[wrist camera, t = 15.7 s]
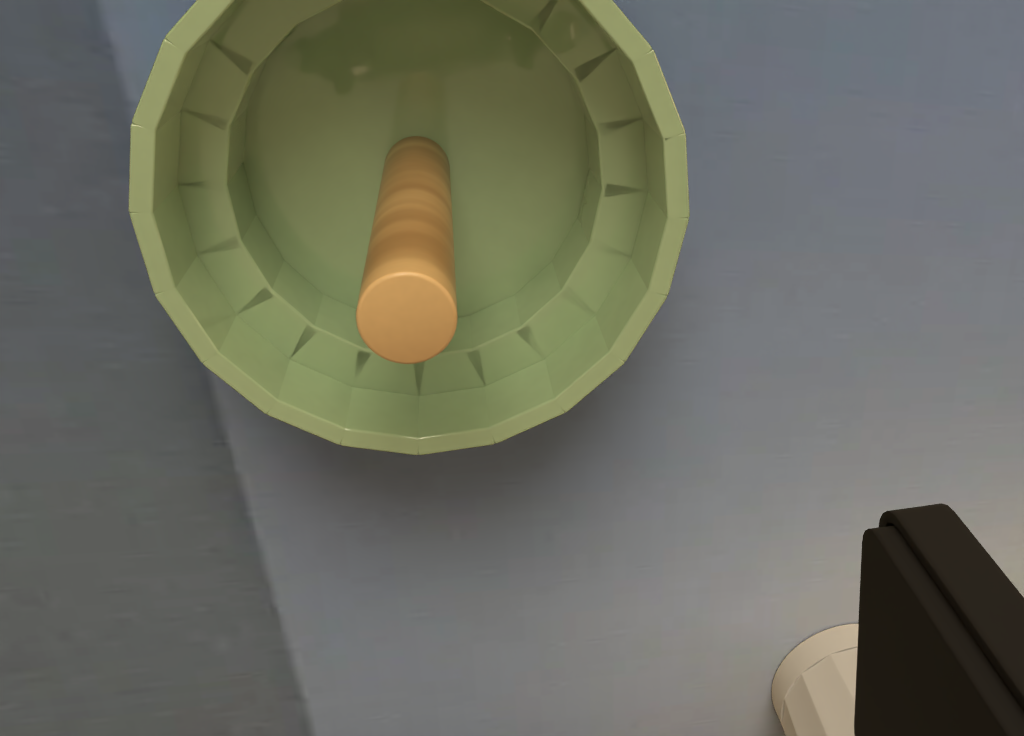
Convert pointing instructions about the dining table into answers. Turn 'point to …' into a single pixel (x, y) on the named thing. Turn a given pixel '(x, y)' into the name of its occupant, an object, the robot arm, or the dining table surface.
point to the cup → (819, 684)
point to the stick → (410, 257)
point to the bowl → (354, 193)
